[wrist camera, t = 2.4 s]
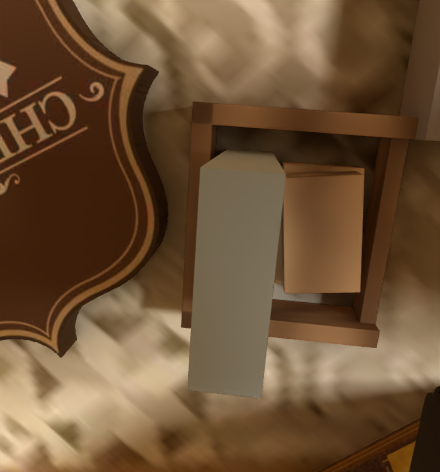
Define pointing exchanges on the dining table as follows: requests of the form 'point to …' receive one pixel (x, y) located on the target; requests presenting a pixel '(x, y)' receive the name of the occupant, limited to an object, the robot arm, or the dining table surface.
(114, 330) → the dining table surface
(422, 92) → the holder
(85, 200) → the decorative plaque
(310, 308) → the square wooden tray
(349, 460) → the book
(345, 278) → the offcut top
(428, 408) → the robot arm
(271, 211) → the panel
